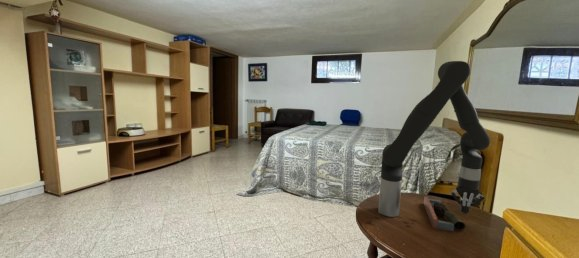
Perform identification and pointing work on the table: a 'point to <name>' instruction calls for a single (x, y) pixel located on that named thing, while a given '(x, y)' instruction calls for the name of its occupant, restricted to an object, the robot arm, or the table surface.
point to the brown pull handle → (432, 216)
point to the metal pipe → (448, 216)
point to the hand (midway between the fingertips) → (464, 213)
